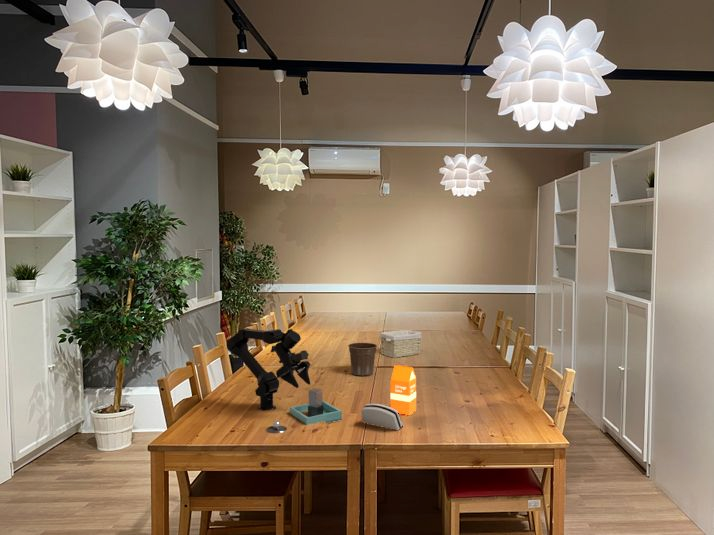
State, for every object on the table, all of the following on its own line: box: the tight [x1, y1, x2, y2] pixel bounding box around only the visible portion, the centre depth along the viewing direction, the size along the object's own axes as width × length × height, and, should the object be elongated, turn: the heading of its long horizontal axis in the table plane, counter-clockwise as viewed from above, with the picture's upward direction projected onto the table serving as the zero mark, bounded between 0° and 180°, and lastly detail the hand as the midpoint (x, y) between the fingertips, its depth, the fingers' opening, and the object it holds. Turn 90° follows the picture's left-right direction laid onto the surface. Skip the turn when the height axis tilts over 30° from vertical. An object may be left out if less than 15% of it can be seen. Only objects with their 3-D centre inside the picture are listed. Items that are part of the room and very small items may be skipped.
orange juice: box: [390, 364, 417, 416], centre depth 214 cm, size 8×9×20 cm
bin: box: [289, 400, 343, 426], centre depth 206 cm, size 16×16×4 cm
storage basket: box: [379, 329, 423, 359], centre depth 324 cm, size 24×16×15 cm
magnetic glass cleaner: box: [361, 403, 404, 431], centre depth 197 cm, size 17×5×10 cm, turn 58°
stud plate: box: [265, 420, 288, 434], centre depth 190 cm, size 8×8×5 cm
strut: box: [307, 388, 323, 417], centre depth 206 cm, size 5×5×11 cm
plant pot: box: [347, 342, 378, 377], centre depth 276 cm, size 16×16×16 cm
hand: (303, 385), depth 207 cm, fingers open, 9 cm apart
